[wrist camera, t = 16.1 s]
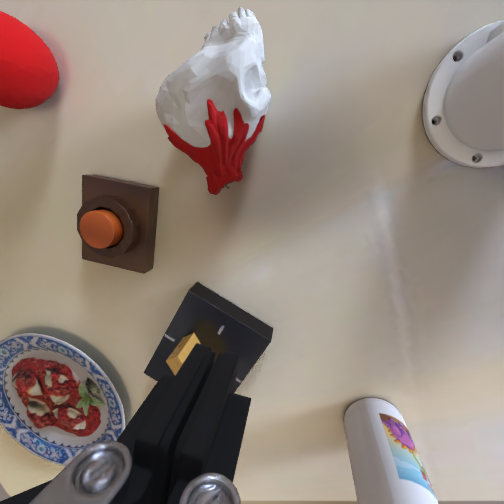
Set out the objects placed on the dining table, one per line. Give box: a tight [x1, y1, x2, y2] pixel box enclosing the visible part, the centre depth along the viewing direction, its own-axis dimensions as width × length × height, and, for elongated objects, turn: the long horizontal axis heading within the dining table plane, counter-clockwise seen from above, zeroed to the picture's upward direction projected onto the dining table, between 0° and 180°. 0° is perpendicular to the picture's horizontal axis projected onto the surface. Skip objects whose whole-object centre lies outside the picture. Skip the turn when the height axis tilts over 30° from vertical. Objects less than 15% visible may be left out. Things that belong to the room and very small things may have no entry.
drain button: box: [80, 209, 123, 249], centre depth 33 cm, size 4×4×2 cm
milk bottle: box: [344, 398, 438, 504], centre depth 29 cm, size 8×8×20 cm
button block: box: [77, 175, 159, 273], centre depth 35 cm, size 11×9×4 cm
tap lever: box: [166, 333, 201, 375], centre depth 34 cm, size 8×2×5 cm, turn 29°
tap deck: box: [144, 282, 273, 393], centre depth 38 cm, size 15×12×3 cm
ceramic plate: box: [0, 333, 125, 466], centre depth 46 cm, size 26×26×3 cm
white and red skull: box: [156, 7, 271, 195], centre depth 28 cm, size 9×11×15 cm
